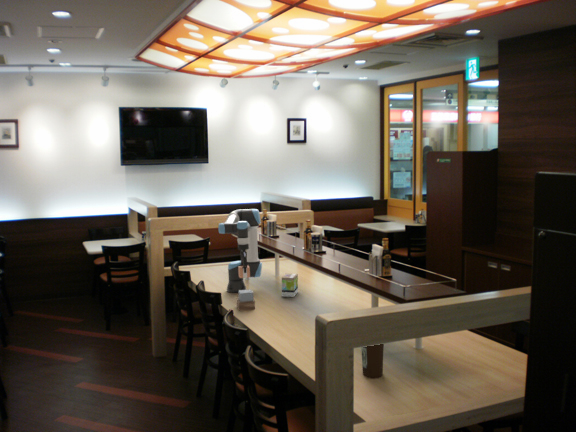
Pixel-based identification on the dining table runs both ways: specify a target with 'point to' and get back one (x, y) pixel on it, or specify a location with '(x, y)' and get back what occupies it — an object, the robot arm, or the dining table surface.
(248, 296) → the slate block
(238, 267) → the terracotta cube
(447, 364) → the dining table surface
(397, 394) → the dining table surface
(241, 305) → the walnut block
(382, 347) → the brown coffee cup
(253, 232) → the robot arm
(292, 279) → the tea box
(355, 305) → the dining table surface
